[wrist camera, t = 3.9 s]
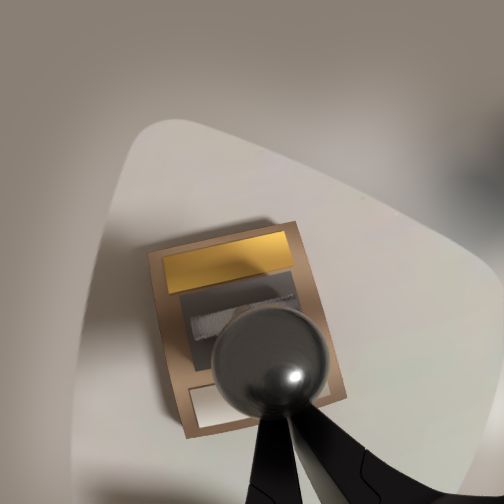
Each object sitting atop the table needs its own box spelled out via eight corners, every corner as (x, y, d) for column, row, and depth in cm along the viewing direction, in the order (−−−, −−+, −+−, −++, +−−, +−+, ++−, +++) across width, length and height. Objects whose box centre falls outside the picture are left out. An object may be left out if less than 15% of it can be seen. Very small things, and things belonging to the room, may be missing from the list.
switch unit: (337, 395, 19) (365, 402, 14) (191, 432, 18) (176, 451, 13) (290, 232, 23) (303, 198, 18) (154, 262, 22) (133, 235, 17)
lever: (298, 332, 16) (392, 403, 6) (201, 355, 15) (187, 461, 6) (286, 274, 16) (378, 285, 6) (186, 297, 15) (146, 342, 6)
